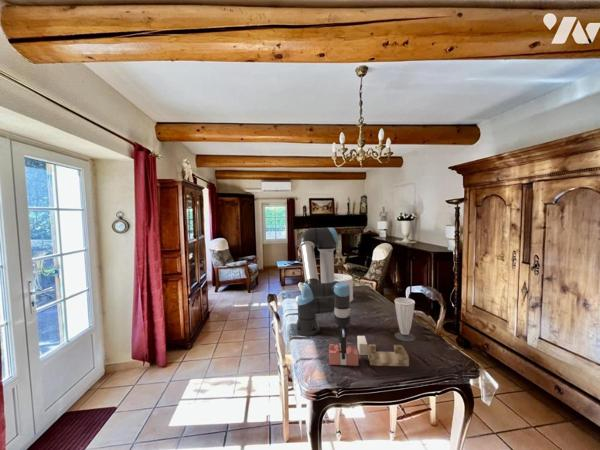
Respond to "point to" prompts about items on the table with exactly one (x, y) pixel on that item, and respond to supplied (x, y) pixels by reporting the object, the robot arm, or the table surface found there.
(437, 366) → the table surface
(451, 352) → the table surface
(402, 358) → the cradle
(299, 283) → the potted plant
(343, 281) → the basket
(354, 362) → the red notched block
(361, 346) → the white block
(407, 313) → the cup
